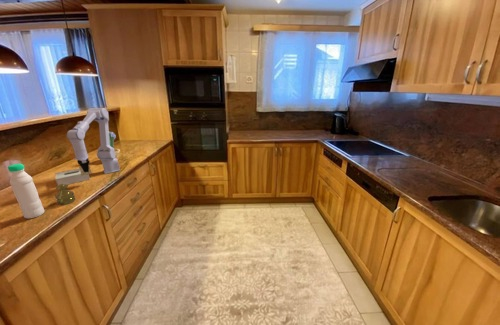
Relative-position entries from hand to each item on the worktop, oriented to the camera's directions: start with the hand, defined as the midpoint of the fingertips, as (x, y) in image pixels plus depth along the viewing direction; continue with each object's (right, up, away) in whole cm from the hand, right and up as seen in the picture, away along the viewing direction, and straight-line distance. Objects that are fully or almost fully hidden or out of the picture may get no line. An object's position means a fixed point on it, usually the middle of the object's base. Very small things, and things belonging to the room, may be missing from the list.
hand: (86, 171), depth 132 cm
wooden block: (0, -2, 0) cm, 2 cm away
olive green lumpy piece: (+4, -15, -19) cm, 25 cm away
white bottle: (-1, -19, -31) cm, 36 cm away
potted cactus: (-15, +7, +47) cm, 50 cm away
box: (-15, -6, +9) cm, 19 cm away
